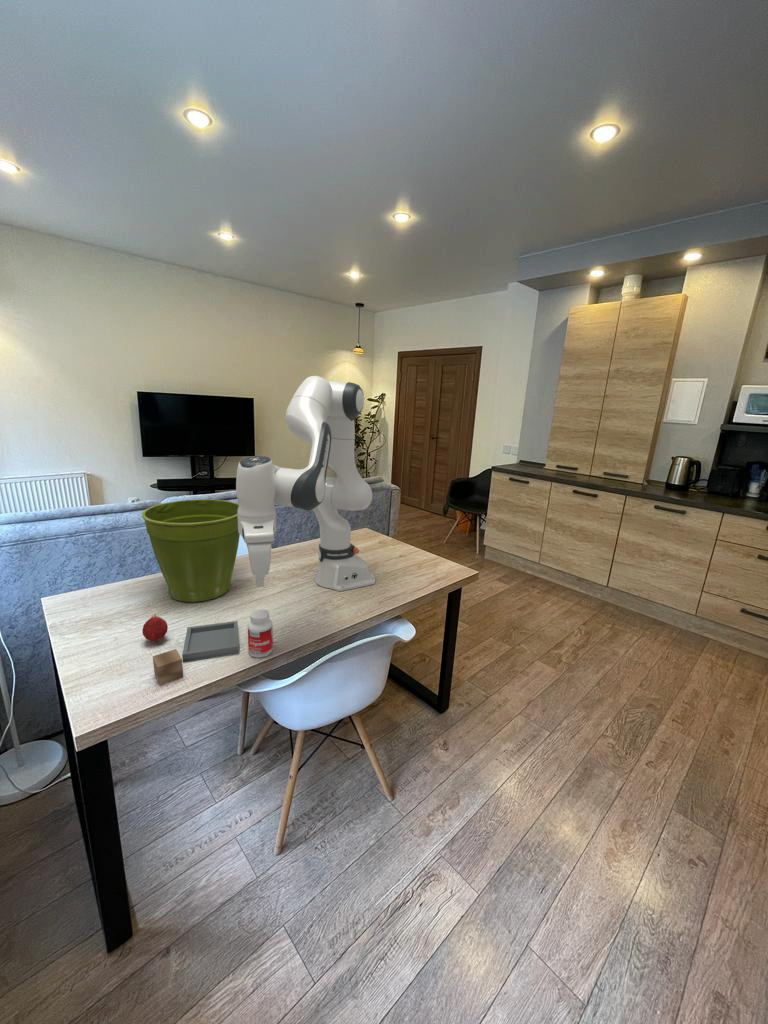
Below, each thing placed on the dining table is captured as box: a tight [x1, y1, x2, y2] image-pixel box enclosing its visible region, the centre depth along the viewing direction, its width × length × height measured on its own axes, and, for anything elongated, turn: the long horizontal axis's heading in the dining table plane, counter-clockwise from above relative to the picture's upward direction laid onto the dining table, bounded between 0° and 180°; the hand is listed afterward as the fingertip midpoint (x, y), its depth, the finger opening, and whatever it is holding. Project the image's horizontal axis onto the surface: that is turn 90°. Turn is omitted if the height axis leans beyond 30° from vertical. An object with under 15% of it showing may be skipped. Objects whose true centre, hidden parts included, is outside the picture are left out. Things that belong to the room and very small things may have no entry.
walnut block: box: [152, 648, 184, 687], centre depth 92 cm, size 5×5×5 cm
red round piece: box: [142, 613, 169, 643], centre depth 105 cm, size 6×6×8 cm
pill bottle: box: [247, 609, 274, 659], centre depth 102 cm, size 6×6×11 cm
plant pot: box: [141, 498, 241, 603], centre depth 131 cm, size 30×30×29 cm
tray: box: [181, 620, 239, 663], centre depth 106 cm, size 13×13×2 cm
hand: (258, 577), depth 99 cm, fingers open, 8 cm apart
